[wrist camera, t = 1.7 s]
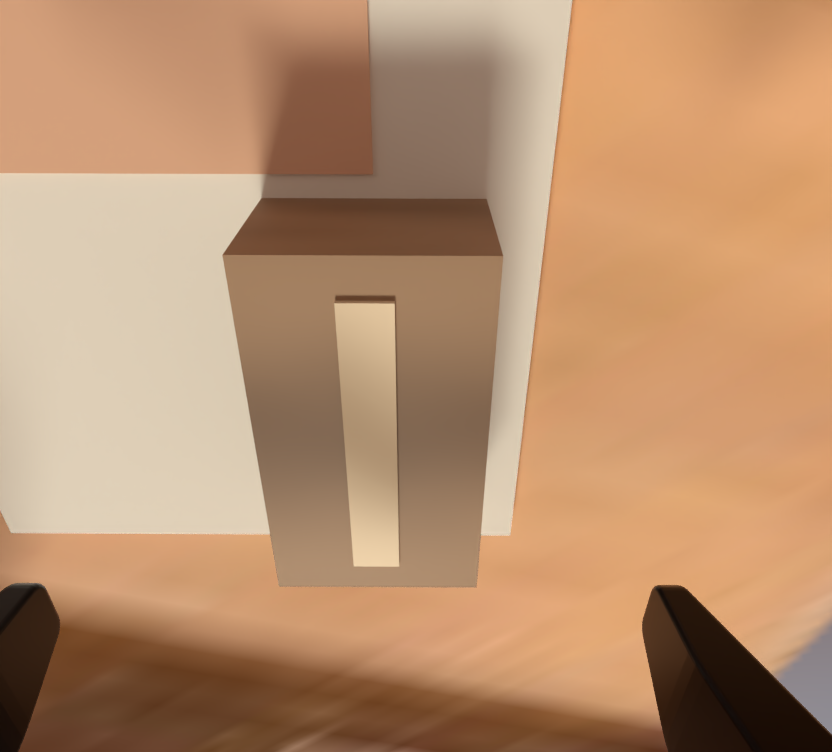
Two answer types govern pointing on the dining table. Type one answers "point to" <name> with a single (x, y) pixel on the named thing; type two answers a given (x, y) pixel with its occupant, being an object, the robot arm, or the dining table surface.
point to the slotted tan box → (369, 383)
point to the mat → (231, 222)
